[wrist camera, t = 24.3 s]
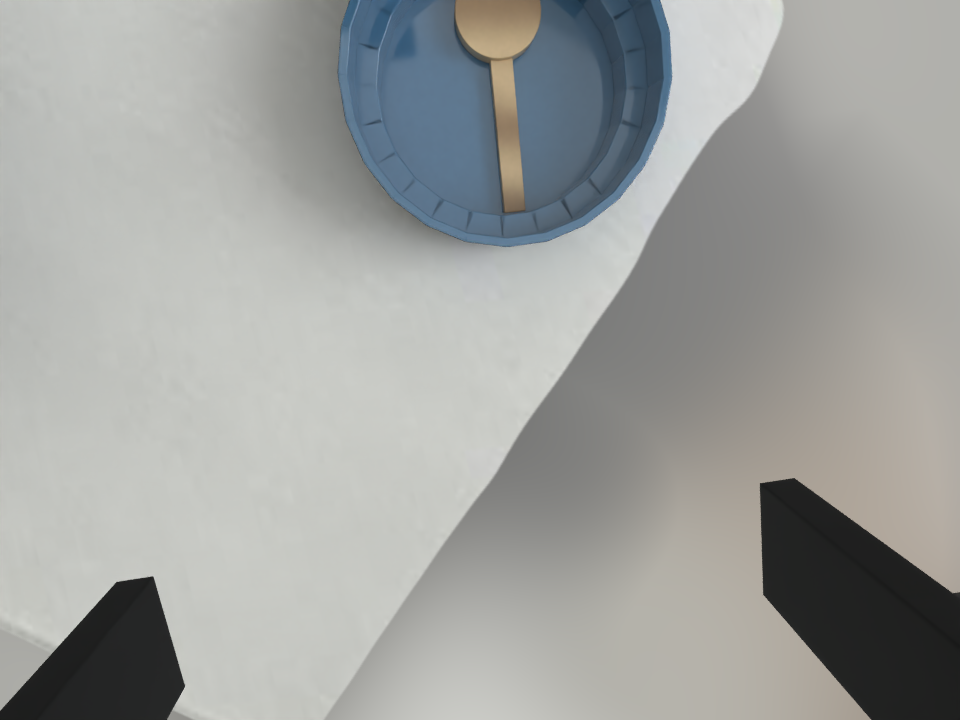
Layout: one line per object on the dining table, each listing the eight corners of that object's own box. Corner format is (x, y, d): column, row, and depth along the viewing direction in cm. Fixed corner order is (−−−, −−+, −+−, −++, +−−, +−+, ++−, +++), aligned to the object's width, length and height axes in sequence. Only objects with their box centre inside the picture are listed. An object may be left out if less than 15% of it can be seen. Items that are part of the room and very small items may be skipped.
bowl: (380, 259, 47) (370, 266, 41) (329, -43, 43) (308, -94, 36) (647, 222, 48) (680, 222, 41) (626, -80, 43) (660, -137, 36)
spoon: (552, 207, 47) (556, 207, 45) (474, 216, 46) (475, 216, 45) (533, -32, 43) (537, -42, 41) (449, -24, 43) (449, -34, 41)
